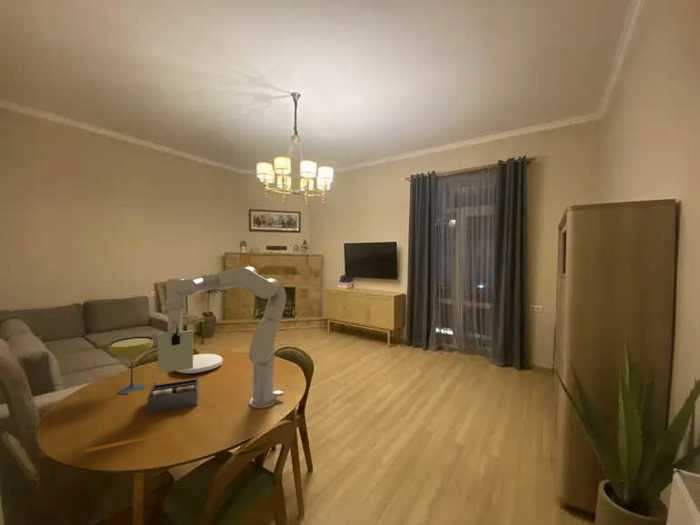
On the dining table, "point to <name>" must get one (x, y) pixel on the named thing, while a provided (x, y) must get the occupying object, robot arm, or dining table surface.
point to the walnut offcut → (185, 389)
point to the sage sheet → (175, 352)
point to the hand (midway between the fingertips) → (176, 343)
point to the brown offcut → (162, 392)
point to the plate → (203, 363)
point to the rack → (173, 397)
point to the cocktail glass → (131, 355)
